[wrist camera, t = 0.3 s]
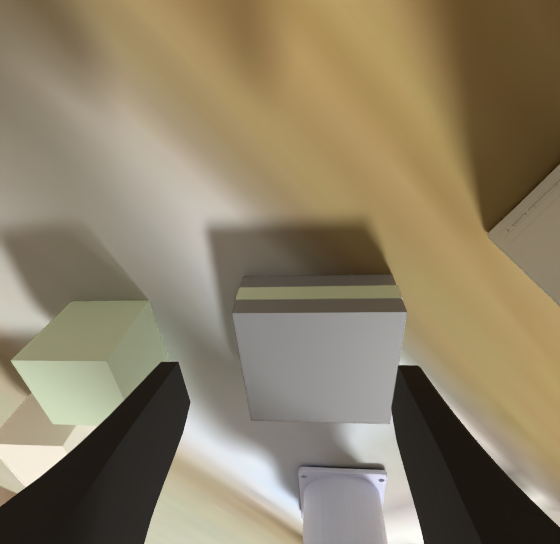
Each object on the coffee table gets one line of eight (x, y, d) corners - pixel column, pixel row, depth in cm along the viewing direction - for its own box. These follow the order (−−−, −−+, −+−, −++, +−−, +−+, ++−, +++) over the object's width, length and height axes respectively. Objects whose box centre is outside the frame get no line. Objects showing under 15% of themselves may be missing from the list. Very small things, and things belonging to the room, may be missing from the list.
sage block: (169, 359, 26) (136, 426, 21) (100, 359, 26) (53, 424, 21) (149, 299, 23) (106, 361, 18) (72, 300, 23) (10, 360, 18)
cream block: (126, 423, 30) (92, 489, 26) (69, 421, 31) (24, 486, 26) (105, 380, 27) (62, 446, 23) (42, 379, 28) (-13, 443, 23)
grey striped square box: (379, 376, 25) (390, 424, 22) (258, 374, 26) (250, 420, 22) (391, 270, 20) (408, 311, 17) (243, 273, 21) (231, 312, 18)
